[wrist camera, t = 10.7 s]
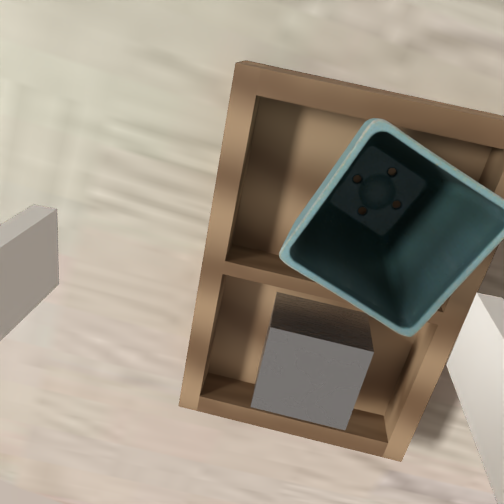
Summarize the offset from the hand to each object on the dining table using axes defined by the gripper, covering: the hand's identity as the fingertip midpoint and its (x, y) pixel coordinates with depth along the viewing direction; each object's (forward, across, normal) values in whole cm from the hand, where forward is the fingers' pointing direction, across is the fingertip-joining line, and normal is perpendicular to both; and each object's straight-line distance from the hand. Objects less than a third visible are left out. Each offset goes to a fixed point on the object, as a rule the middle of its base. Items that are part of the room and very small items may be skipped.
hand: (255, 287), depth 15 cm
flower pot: (+19, +6, -2) cm, 20 cm away
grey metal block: (+18, +4, -14) cm, 24 cm away
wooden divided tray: (+20, +5, -8) cm, 22 cm away
